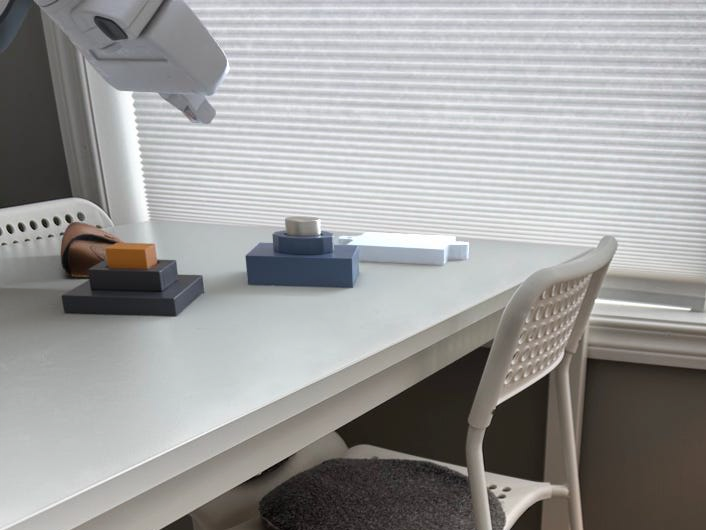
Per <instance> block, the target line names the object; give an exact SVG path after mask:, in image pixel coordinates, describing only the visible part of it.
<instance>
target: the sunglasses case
mask: <svg viewBox="0 0 706 530" xmlns="http://www.w3.org/2000/svg"><path fill="white" fill-rule="evenodd" d="M64 230H65V231H64V232H63V236H62V238H61V243H60V244H61V245H60V261H61V266H62V269H63V270H64V271H65V272H66V273H67V274H68V275H69V276H70V277H72V278H75V279H80V278H82V279H89V276H88V269H90V268H91V267H93V266H95V265H97V264H99V263H100V262H102V261H104V260H106V259H107V256H106V250H105V248H107V247H109V246H111V245H113V244H115V243H125V242H124V241H122V240H121V239H120V238H119V237H117V236H115V235H113V234H111V233H109V232H107V231H104V230H103V229H101V228H99V227H97V226H94V225H92V224H89V223H85V222H80V221H74V222H71V223H69V224H68V225H67V227H66V228H65V229H64Z"/></svg>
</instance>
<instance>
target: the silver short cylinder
mask: <svg viewBox="0 0 706 530" xmlns="http://www.w3.org/2000/svg"><path fill="white" fill-rule="evenodd" d="M284 225H285V227H284V228H285V230H286V235H288V236H298V237H312V236H321V232H320V231H321V219H320V218H318V217H313V216H288V217H285V218H284Z"/></svg>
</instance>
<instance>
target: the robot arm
mask: <svg viewBox="0 0 706 530" xmlns="http://www.w3.org/2000/svg"><path fill="white" fill-rule="evenodd" d="M33 2H34V3H35V4H36V5H37V6H38V7H39V8H40V9H41V10H42V11H43V12H44V13H45V14H46V15H47V16H48V17H49V18H50V19H51V21H53V23H54V24H55V25H56V26H57V27H58V28H59V29H60V30H61V31H62V32H63V33H64V34H65V35H66V36H67V37H68V39H69V40H70V41H71V43H72V44H73V46H74V47H75V48H76V49H77V51H78V52H79V53H80V54H81V55H82V57H84V59H85V60H86V61H87V62H88V63H89V65H90V66H91V67H92V68H93V69H94V70H95V71H96V72H97V74H98V75H99V76H100V77H101V78H102V79H103V80H104V82H106V83H107V84H108V85H110V86H111V87H112V88H114V89H115V90H117V91H119V92H133V93H134V92H135V93H154V94H158V95H159V96H160V98H161V99H162V100H164V101H166V102H167V103H169V104H170V105H171V106H172V107H174V108H175V109H177V110H178V111H180V112H181V113H182V114H183V115H184V116H185V117H186V118H187V119H188V121H189V122H190V123H192V124H202V125H209V124H211V123H212V122H213V120H214V119H215V117H216V114H217V111H216V108H215V107H214V106H213V105H212V104H211V102H209V100H208V99H207V98H206V96H207V97H211V96H213V95H214V94H215V93H216V92H217V91H218V89H219V88H220V86H221V85H222V84H223V83H224V81H225V79H226V78H227V76H228V74H229V73H230V70H231V68H230V63H229V60H228V57H227V55H226V53H225V51H224V50H223V49H222V47H221V46H220V44H219V43H218V42H217V40H216V39H215V37H214V36H213V35H212V32H210V30H209V29H208V28H207V27H206V25H205V24H204V23H203V21H202V20H201V19H200V17H199V16H198V15H197V14H196V13H195V11H193V9H192V8H191V7H190V6H189V5H188V3H186V1H184V0H0V55H2V53H3V52H4V51H6V50H7V48H8V47H9V46H10V45H11V43H12V42H13V40H14V39H15V38H16V35H17V33H18V31H19V30H20V28H21V27H22V25H23V22H24V21H25V19H26V17H27V15H28V13H29V12H30V9H31V7H32V4H33Z"/></svg>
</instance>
